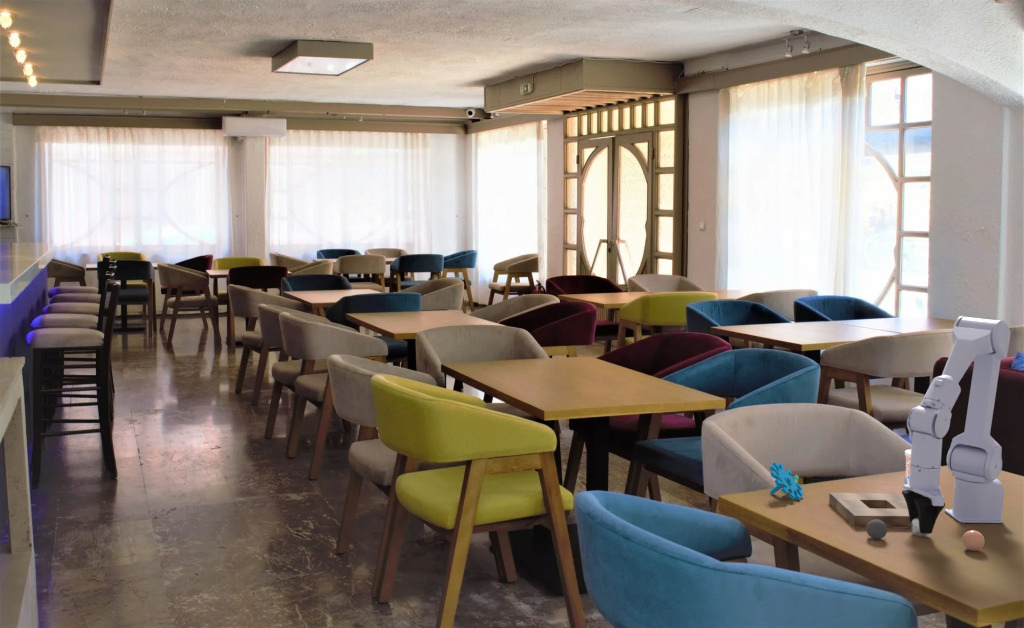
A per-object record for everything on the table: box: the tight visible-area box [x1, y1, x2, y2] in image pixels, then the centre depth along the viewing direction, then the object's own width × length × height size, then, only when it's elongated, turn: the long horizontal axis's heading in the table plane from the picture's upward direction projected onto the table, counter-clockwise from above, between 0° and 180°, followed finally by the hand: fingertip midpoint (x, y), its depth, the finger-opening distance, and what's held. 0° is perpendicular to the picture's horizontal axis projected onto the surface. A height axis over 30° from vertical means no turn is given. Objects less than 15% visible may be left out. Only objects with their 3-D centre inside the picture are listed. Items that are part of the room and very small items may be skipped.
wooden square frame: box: [828, 492, 911, 528], centre depth 216 cm, size 16×16×2 cm
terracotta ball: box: [961, 529, 985, 552], centre depth 195 cm, size 4×4×4 cm
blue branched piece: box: [769, 462, 805, 501], centre depth 229 cm, size 11×6×10 cm
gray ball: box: [865, 519, 888, 540], centre depth 201 cm, size 4×4×4 cm
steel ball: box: [910, 517, 929, 537], centre depth 203 cm, size 4×4×4 cm
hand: (920, 529), depth 203 cm, fingers closed on steel ball, 4 cm apart
